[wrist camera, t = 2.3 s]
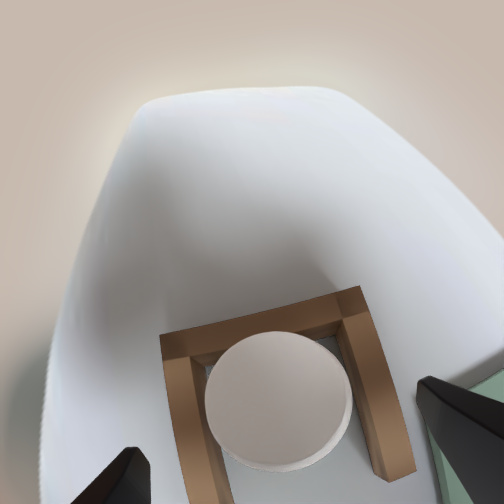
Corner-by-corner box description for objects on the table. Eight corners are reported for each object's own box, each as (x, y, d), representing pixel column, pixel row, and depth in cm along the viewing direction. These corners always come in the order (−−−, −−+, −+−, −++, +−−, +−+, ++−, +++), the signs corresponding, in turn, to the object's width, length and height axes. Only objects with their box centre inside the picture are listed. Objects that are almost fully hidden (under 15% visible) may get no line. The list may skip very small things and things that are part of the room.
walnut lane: (398, 464, 14) (416, 470, 11) (209, 509, 13) (195, 523, 11) (351, 305, 19) (359, 285, 16) (177, 347, 19) (159, 334, 16)
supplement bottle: (261, 349, 18) (231, 280, 10) (346, 383, 17) (397, 344, 8) (220, 429, 16) (148, 432, 8) (306, 467, 14) (320, 515, 6)
